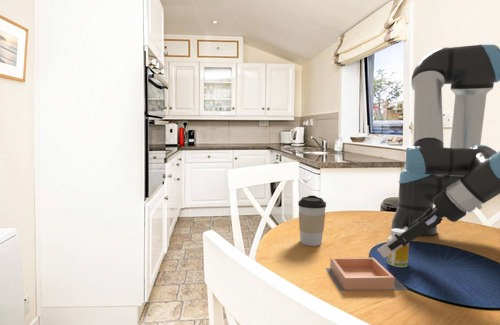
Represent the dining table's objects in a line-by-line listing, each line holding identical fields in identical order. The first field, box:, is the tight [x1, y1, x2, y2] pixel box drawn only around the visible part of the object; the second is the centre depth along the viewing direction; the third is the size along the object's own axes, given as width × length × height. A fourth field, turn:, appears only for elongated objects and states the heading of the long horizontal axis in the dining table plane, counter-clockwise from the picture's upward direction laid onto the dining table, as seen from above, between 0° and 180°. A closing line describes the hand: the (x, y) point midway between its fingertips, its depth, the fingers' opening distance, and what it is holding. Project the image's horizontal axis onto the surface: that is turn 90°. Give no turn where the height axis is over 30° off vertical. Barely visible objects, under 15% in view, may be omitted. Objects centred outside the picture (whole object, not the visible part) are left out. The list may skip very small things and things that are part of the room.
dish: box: [329, 257, 396, 291], centre depth 81 cm, size 12×12×3 cm
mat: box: [325, 267, 409, 292], centre depth 81 cm, size 16×12×1 cm
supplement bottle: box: [386, 228, 410, 268], centre depth 90 cm, size 5×5×10 cm
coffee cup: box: [297, 195, 327, 247], centre depth 107 cm, size 9×9×15 cm
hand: (386, 247), depth 92 cm, fingers open, 10 cm apart
